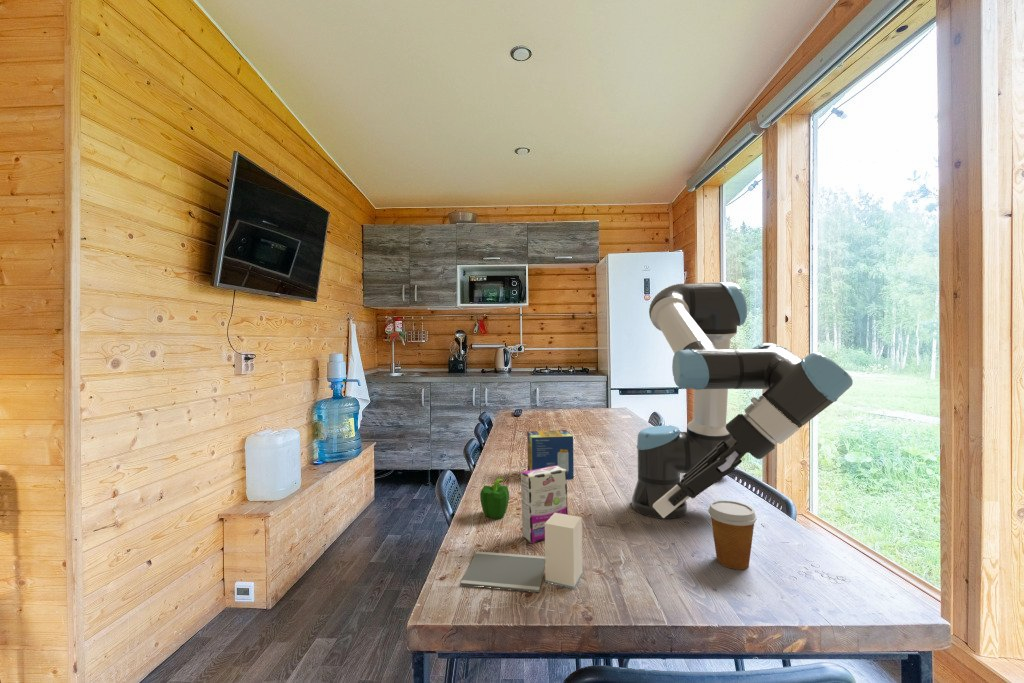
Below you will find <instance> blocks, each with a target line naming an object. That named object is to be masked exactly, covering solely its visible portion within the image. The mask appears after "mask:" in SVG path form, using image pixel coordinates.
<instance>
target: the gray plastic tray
mask: <svg viewBox="0 0 1024 683" xmlns="http://www.w3.org/2000/svg"><path fill="white" fill-rule="evenodd" d="M544 571H545V556H543V555H541V556H540V555H528V554H516V553H515V554H513V553H503V552H488V551H476V552H475V555H474V557H473V558H472V560H471V562H470V564H469V566H468V568H467V570H466V572H465V573H464V575H463V578H462V579H461V580H460V582H459V583H460V586H461V585H462V586H461V587H469V586H484V587H491V588H500V589H499V590H502V589H511V590H510V591H513V590H519V591H518V592H524V591H530V592H529V593H535V592H539V591H540V592H541V587H542V583H543V582H542V580H543V578H544ZM540 586H541V587H540ZM491 588H490V589H491ZM540 592H539V593H540Z"/></svg>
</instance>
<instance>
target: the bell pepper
mask: <svg viewBox="0 0 1024 683" xmlns="http://www.w3.org/2000/svg"><path fill="white" fill-rule="evenodd" d="M503 480H504V479H503V478H497V479H496V480H495V481H494V483H493V485H491V486H490V485H484V486H483V487H482V488H481V491H480V493H479V498H480V504H481V508H482V511H483V515H484V516H485V517H486V518H491V519H494V520H496V519H497V520H499V519H501V518H504V516H505V515H506V512H507V510H508V505H509V501H510V491H509V488H508V485H502V484H500V483H502V482H503Z"/></svg>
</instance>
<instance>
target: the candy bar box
mask: <svg viewBox="0 0 1024 683" xmlns="http://www.w3.org/2000/svg"><path fill="white" fill-rule="evenodd" d="M567 481H568V479H567V472H566V469H564V468H561V467H559V466H551V467H546V468H541V469H535V470H530V471H528V470H526V471H525V470H524V471H521V472H520V494H521V495H520V496H521V520H522V521H521V526H522V528H521V531H522V532H521V533H522V537H523V538H524V539H525V538H526V540H527V542H529V543H530V544H535V543H539V542H542V540H543V541H545V523H546V522H547V520H548V519H549V518H550V517H551V516H552V515H553V514H554V513H560V514H566V515H569V513H568V512H569V511H568V482H567ZM538 541H539V542H538Z"/></svg>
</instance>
